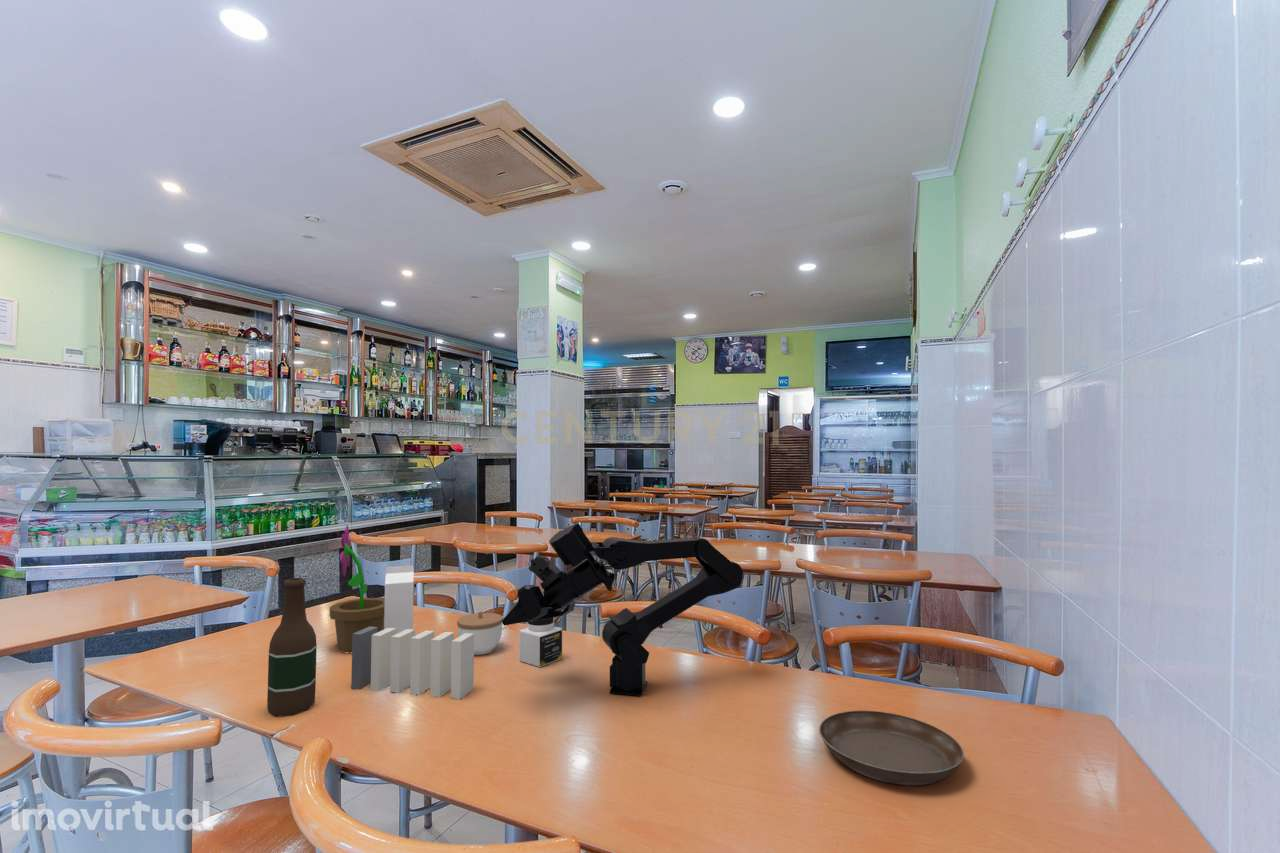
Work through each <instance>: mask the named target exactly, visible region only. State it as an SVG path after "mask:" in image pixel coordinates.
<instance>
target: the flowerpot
mask: <svg viewBox="0 0 1280 853" xmlns="http://www.w3.org/2000/svg"><path fill="white" fill-rule="evenodd" d="M349 536H350V530H349V526H348V525H347V524H346V526H345V528H344V533H342V535H341V540H340V541H341V548H343V551H341V553H339V554H340V555H339V556H340V557H339V564H342V565H341V572H342V577H345V576H346V573H347V568H349V567H350V566H349V565H350V558H351V557H352V559H353V561H354V563H355V565H356V566H357V573H356V574H354V575H353V577H351V579H349V581H348V583H347V585H348V586H350V587H352V588H357V587H359V598H356V599H355V598H354V599H349V600H345V601H340V602H336V603H335V604H332V605H331V606H330V607H329V618H330V620H334V626H335V634H336V635H335V636H336V642H337V650H338V649H339V650H338V652H340V651H344V652H352V634H353V633H355V632H358V631H360V630H362V629H365V628H367V627H378V632H380V631H382V630H384V607H385V597H384V598H383V597H365V593H367V592H368V583H365V580H364V574H363V569H362V564H361V562H360V560H359V559H358V557H357V555H356V553H355V551H353V550H352V548H351V538H349ZM350 556H351V557H350ZM344 652H343V653H344Z"/></svg>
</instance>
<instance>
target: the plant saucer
mask: <svg viewBox="0 0 1280 853" xmlns="http://www.w3.org/2000/svg"><path fill="white" fill-rule="evenodd" d="M818 728H819V730H818V731H819V735H820V738H821V739H822V741H823V742H824V744H825V746H826V747H827V748H828V750H829V751H830V753H832V754H833V756H835V758H836V759H837V760H838V761H839V762H840V763H842V764H843V765H844V766H846V767H848V768H849V769H850V770H852V771H854V772H856V773H858V774H860V775H863V776H865V777H867V778H871V779H872V780H875V781H880V782H884V783H886V784H887V783H889V784H894V785H901V786H922V785H924V786H925V785H930V784H935V783H937V782H939V781H942V780H943V779H944V778H947V777H949V775H951V774H952V773H954V772H955V771H956V770H957V769H958V768H959V766H960V765H961V763H962V761H963V760H964V755H965V753H964V750H963V747H962V746H961V745H960V743H959V742H958V741H957V740H956V739H955V738H954V737H953V736H951V735H950V734H948V733H947V732H945V731H943V730H942V729H940V728H938V727H937V726H934V725H931V724H929V723H927V722H925V721H922V720H919V719H915V718H913V717H909V716H905V715H902V714H901V715H900V714H896V713H891V712H885V711H876V710H850V711H841V712H838V713H834V714H832V715H829V716H827V717H826V718H824V719H823V720H822V721H821V723H820V725H819V726H818Z"/></svg>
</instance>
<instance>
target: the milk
mask: <svg viewBox="0 0 1280 853" xmlns="http://www.w3.org/2000/svg"><path fill="white" fill-rule="evenodd" d="M414 576H415V566H414V565H404V566H403V565H402V566H400V565H399V566H387V567H386V568H385V578H384V599H385V607H384V629H387V628H396V634H398V633H400V632H402V631H404V630H406V629H413V630H414V589H415V588H414V584H415V583H414V580H415V577H414Z"/></svg>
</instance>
